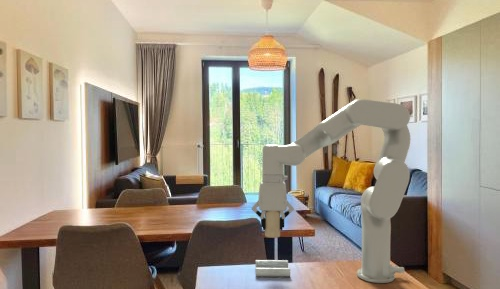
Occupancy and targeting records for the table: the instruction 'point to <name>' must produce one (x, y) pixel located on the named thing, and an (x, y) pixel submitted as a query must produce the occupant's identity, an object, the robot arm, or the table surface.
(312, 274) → the table surface
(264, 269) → the track
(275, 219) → the candle
